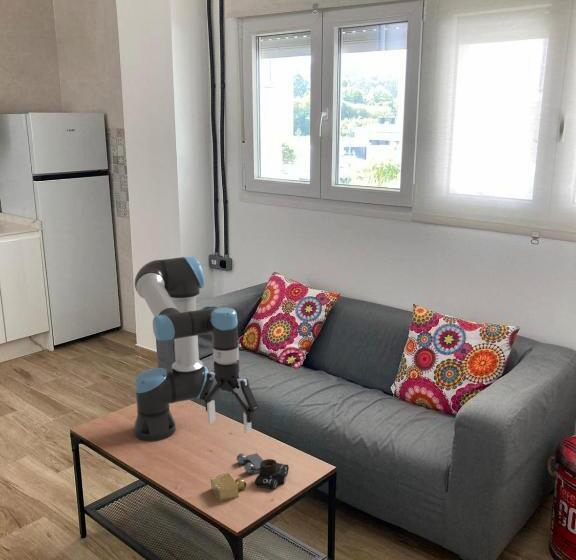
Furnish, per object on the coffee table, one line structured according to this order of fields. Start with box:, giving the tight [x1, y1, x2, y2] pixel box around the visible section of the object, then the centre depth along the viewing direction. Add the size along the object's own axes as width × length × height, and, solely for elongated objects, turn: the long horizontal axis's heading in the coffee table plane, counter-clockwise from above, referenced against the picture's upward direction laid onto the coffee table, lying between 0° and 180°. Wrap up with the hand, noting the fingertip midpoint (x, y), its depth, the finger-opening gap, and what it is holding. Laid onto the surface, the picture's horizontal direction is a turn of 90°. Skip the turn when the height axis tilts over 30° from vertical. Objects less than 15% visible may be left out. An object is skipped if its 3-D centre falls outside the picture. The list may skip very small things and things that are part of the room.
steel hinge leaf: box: [236, 452, 265, 476], centre depth 213 cm, size 8×9×3 cm
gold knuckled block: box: [210, 472, 247, 503], centre depth 199 cm, size 10×8×4 cm
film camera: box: [254, 458, 290, 490], centre depth 206 cm, size 13×8×10 cm
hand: (229, 426), depth 195 cm, fingers open, 13 cm apart
